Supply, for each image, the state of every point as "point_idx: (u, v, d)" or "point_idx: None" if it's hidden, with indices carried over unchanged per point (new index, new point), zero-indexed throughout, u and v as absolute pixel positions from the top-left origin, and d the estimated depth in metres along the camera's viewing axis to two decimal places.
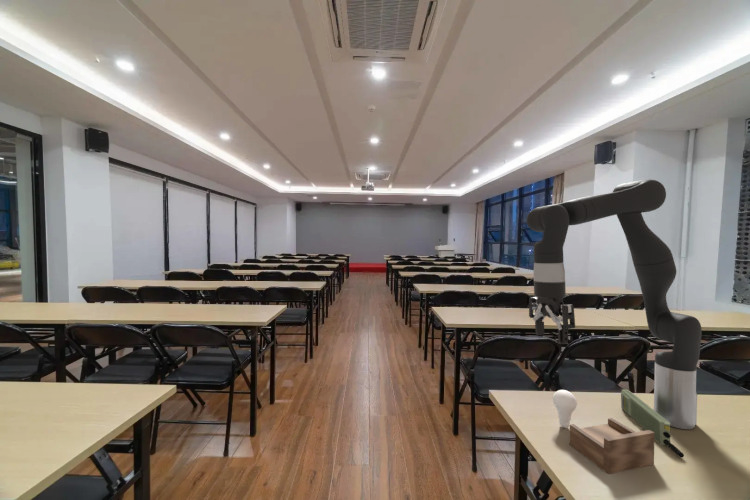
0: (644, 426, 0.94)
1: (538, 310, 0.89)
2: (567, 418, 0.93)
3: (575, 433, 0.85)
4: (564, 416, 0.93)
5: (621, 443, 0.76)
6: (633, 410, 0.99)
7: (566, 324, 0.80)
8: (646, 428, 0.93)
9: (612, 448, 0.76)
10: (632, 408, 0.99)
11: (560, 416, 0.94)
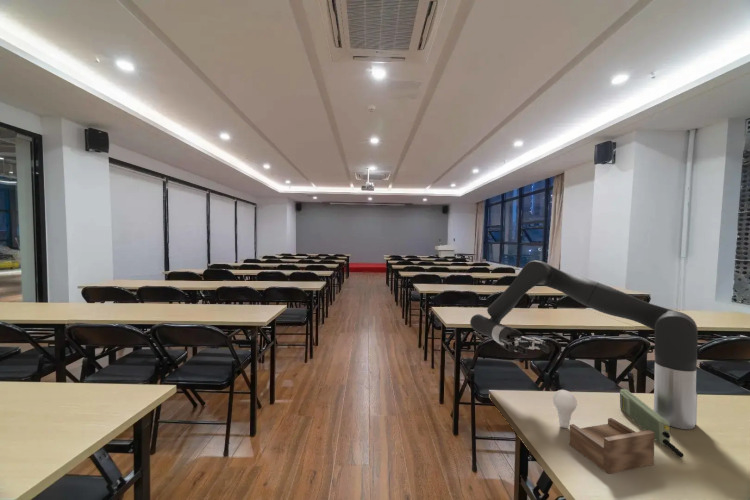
0: (643, 426, 0.94)
1: None
2: (567, 418, 0.93)
3: (575, 433, 0.85)
4: (564, 416, 0.93)
5: (621, 443, 0.76)
6: (632, 410, 0.99)
7: (508, 350, 1.09)
8: (645, 428, 0.93)
9: (612, 448, 0.76)
10: (631, 408, 0.99)
11: (560, 416, 0.94)
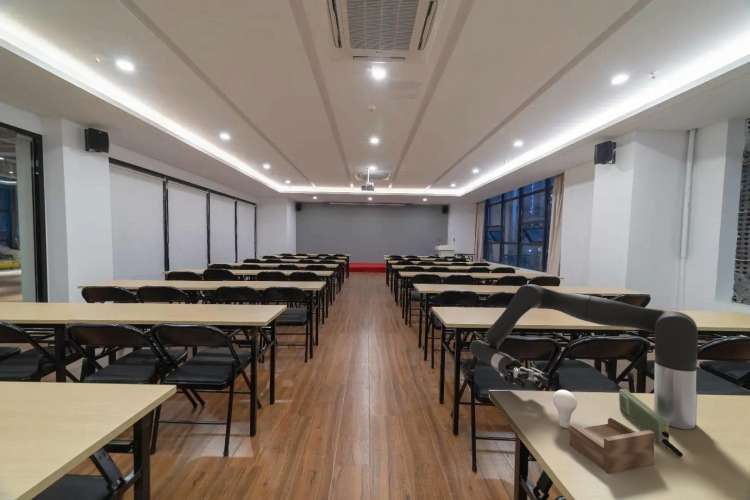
0: (643, 426, 0.94)
1: None
2: (567, 418, 0.93)
3: (575, 433, 0.85)
4: (564, 416, 0.93)
5: (621, 443, 0.76)
6: (632, 410, 0.99)
7: None
8: (645, 428, 0.93)
9: (612, 448, 0.76)
10: (631, 408, 0.99)
11: (560, 416, 0.94)
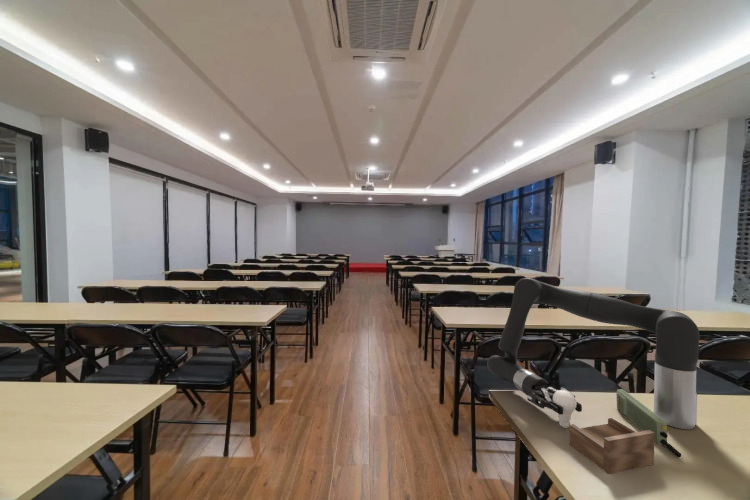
0: (640, 426, 0.94)
1: None
2: (567, 418, 0.93)
3: (575, 433, 0.85)
4: (564, 416, 0.93)
5: (621, 443, 0.76)
6: (629, 410, 0.99)
7: None
8: (642, 428, 0.93)
9: (612, 448, 0.76)
10: (628, 408, 0.99)
11: (560, 416, 0.94)
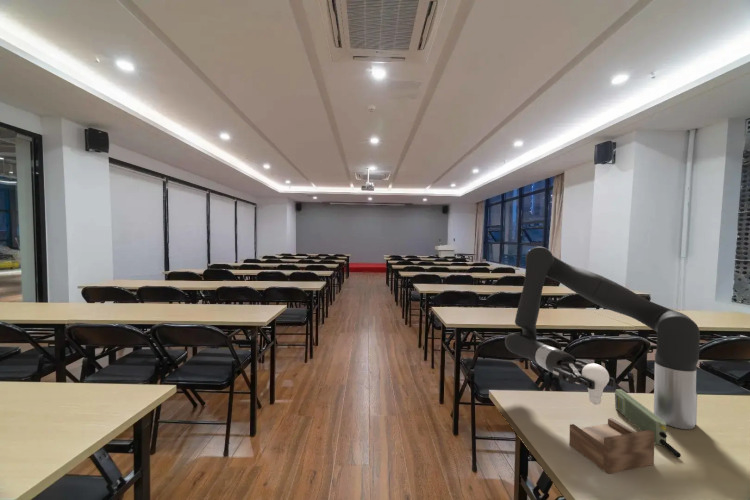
0: (639, 426, 0.94)
1: None
2: (598, 394, 0.85)
3: (575, 433, 0.85)
4: (595, 392, 0.85)
5: (621, 443, 0.76)
6: (628, 410, 0.99)
7: (567, 381, 0.88)
8: (641, 428, 0.93)
9: (612, 448, 0.76)
10: (627, 408, 0.99)
11: (590, 392, 0.86)
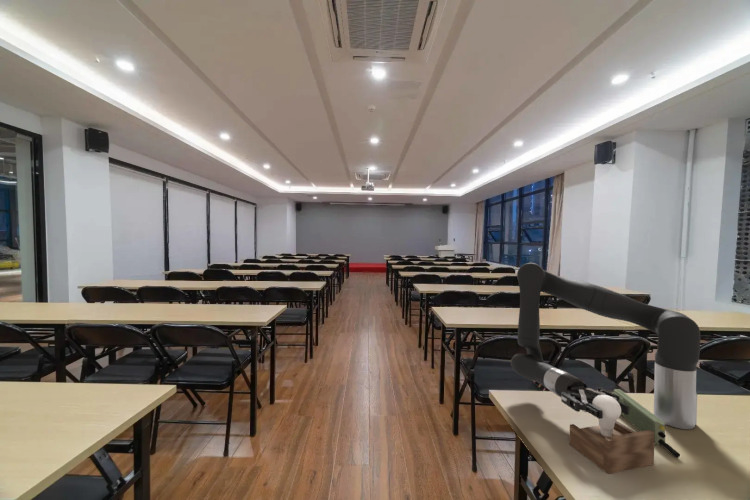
0: (638, 426, 0.94)
1: None
2: (610, 427, 0.82)
3: (575, 433, 0.85)
4: (607, 425, 0.82)
5: (621, 443, 0.76)
6: None
7: (574, 409, 0.85)
8: (640, 428, 0.93)
9: (612, 448, 0.76)
10: None
11: (602, 425, 0.83)
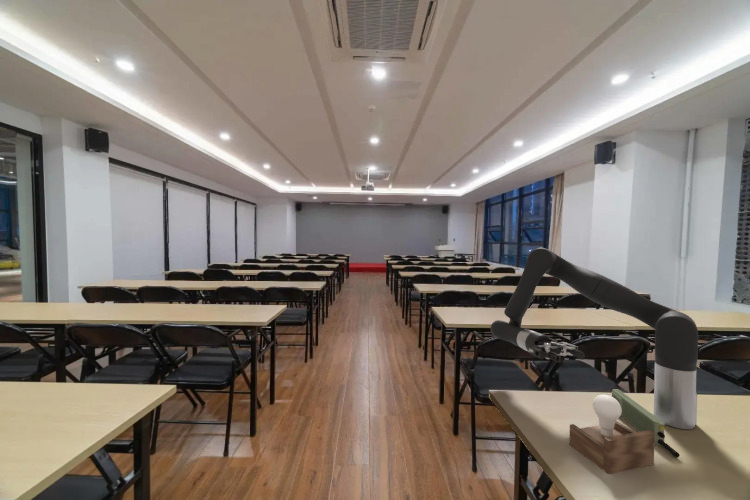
0: (637, 426, 0.94)
1: None
2: (610, 427, 0.82)
3: (575, 433, 0.85)
4: (607, 424, 0.82)
5: (621, 443, 0.76)
6: (625, 410, 0.99)
7: (538, 357, 1.00)
8: (639, 428, 0.93)
9: (612, 448, 0.76)
10: (624, 408, 0.99)
11: (602, 424, 0.83)
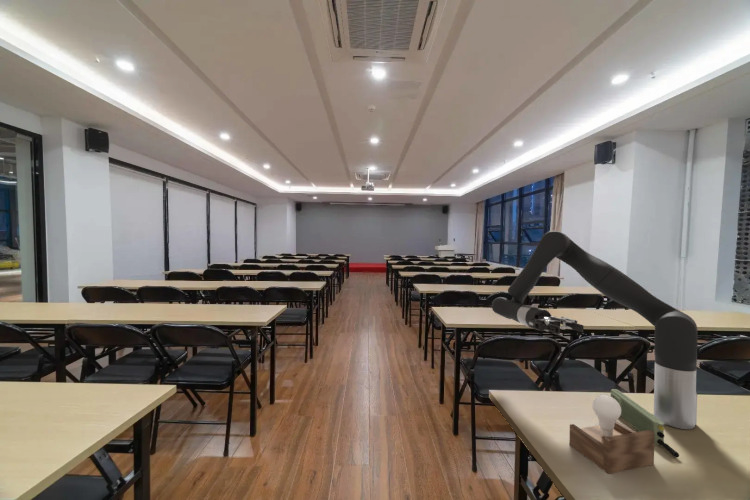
0: (636, 426, 0.94)
1: None
2: (610, 427, 0.82)
3: (575, 433, 0.85)
4: (606, 425, 0.82)
5: (621, 443, 0.76)
6: (624, 410, 0.99)
7: (538, 329, 1.02)
8: (638, 428, 0.93)
9: (612, 448, 0.76)
10: (623, 408, 0.99)
11: (602, 425, 0.83)
